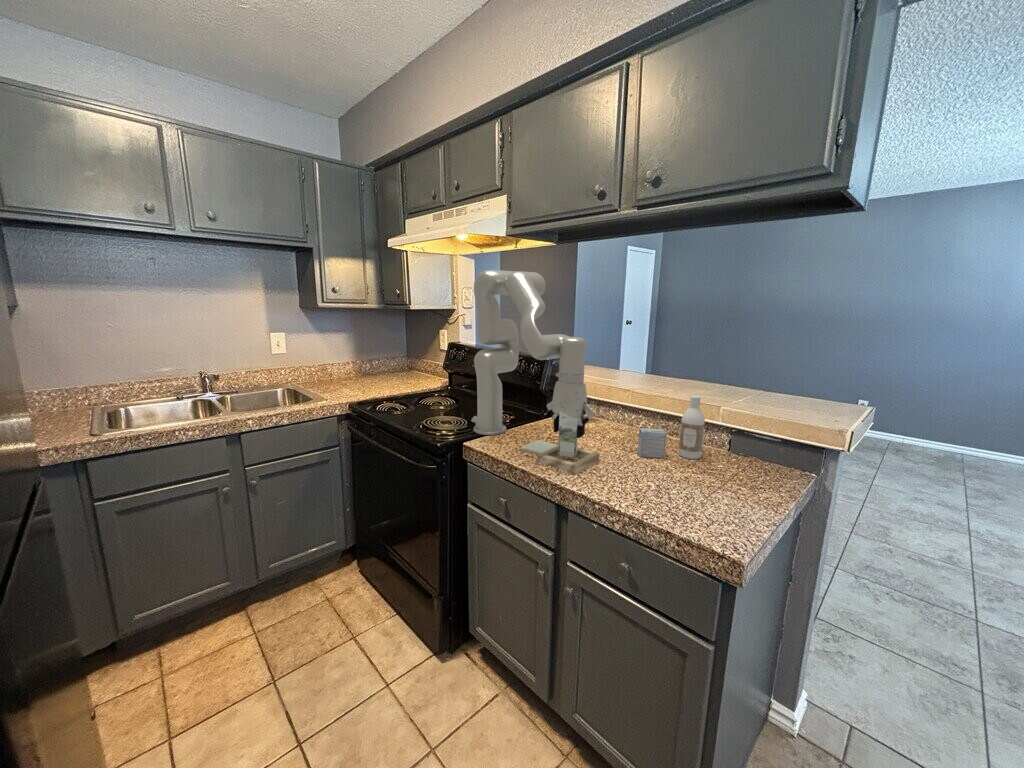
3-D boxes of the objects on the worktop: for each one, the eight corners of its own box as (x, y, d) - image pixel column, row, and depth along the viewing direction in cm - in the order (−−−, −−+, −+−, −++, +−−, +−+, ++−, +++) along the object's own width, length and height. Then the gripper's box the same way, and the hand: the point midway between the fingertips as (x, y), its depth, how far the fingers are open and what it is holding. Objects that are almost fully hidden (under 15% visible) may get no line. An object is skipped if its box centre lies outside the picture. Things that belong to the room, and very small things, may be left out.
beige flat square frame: (537, 462, 130) (537, 455, 130) (561, 450, 141) (561, 443, 141) (576, 474, 122) (577, 466, 121) (599, 460, 133) (599, 453, 132)
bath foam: (675, 456, 137) (681, 396, 133) (681, 450, 142) (686, 393, 138) (698, 461, 133) (704, 400, 129) (703, 455, 138) (709, 396, 134)
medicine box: (661, 453, 139) (663, 428, 138) (664, 458, 135) (667, 432, 133) (637, 452, 140) (638, 427, 138) (639, 457, 136) (641, 432, 134)
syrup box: (577, 452, 134) (579, 408, 131) (575, 459, 128) (578, 413, 125) (559, 450, 135) (561, 407, 132) (557, 457, 129) (559, 412, 126)
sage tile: (520, 449, 142) (521, 447, 142) (537, 442, 149) (538, 439, 149) (545, 456, 136) (545, 454, 136) (561, 448, 143) (562, 446, 143)
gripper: (540, 376, 129) (538, 430, 132) (591, 384, 118) (587, 443, 122) (553, 372, 134) (551, 425, 138) (603, 380, 124) (599, 437, 128)
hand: (568, 433), depth 130 cm, fingers closed on syrup box, 7 cm apart
